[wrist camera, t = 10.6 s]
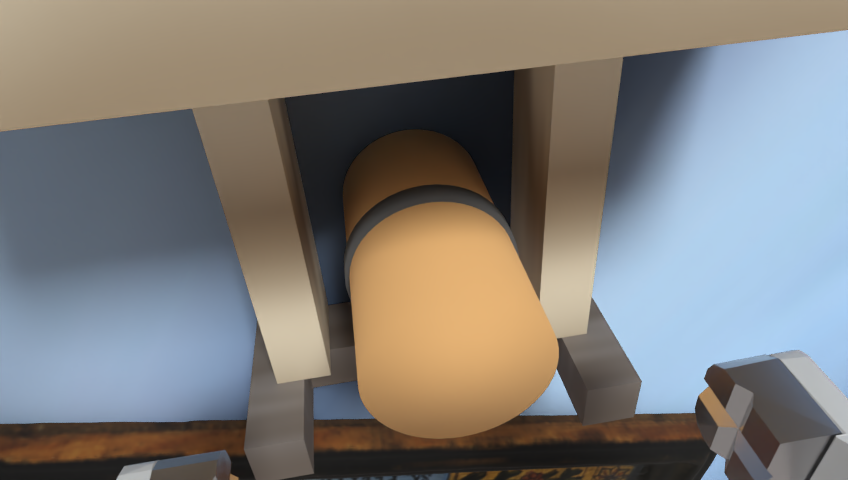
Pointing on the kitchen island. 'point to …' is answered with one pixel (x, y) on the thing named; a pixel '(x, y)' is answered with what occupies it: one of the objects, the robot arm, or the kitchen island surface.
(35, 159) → the kitchen island surface
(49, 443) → the framed icon painting
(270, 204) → the wooden trestle bench
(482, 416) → the banded tan cylinder
